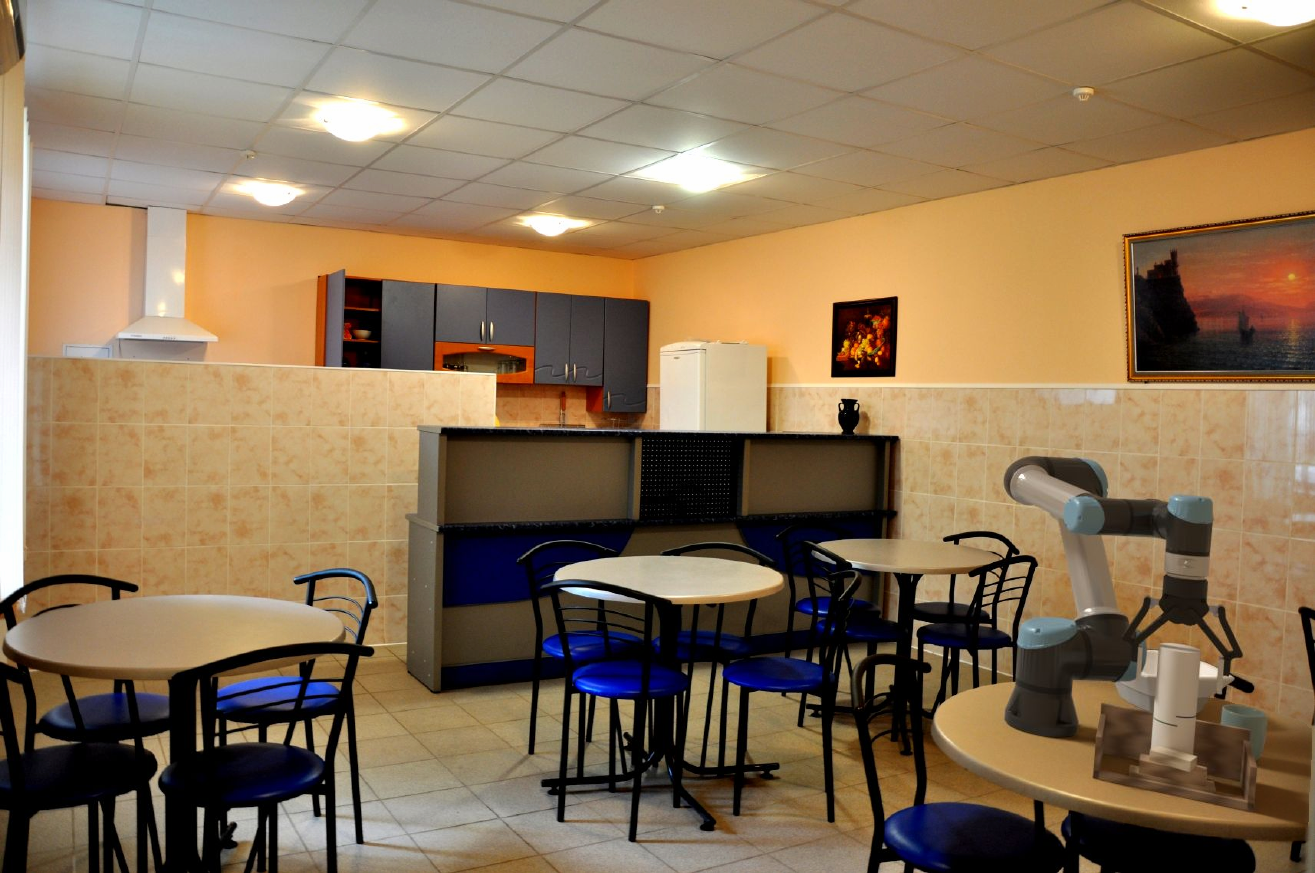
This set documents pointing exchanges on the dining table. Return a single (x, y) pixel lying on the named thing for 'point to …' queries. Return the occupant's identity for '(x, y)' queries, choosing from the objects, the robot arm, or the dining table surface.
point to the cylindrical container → (1176, 697)
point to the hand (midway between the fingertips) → (1177, 685)
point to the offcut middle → (1172, 772)
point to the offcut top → (1173, 758)
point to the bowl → (1145, 688)
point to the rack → (1212, 745)
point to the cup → (1247, 724)
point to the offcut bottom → (1209, 784)
